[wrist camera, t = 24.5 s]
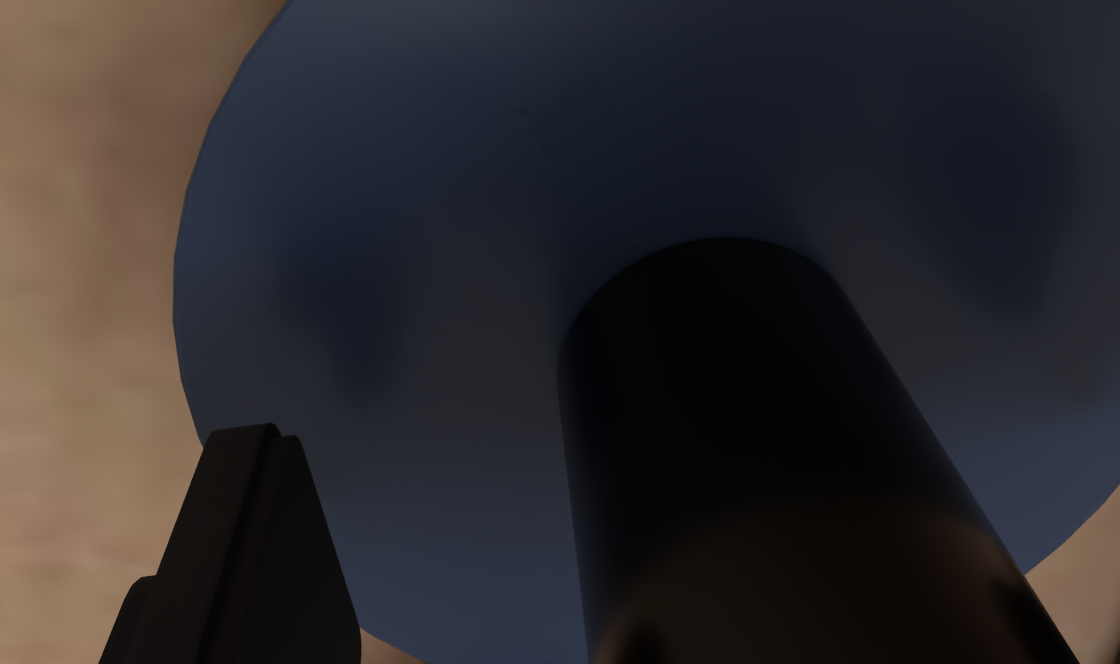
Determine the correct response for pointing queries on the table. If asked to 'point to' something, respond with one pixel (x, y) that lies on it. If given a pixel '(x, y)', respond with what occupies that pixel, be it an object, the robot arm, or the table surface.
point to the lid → (674, 316)
